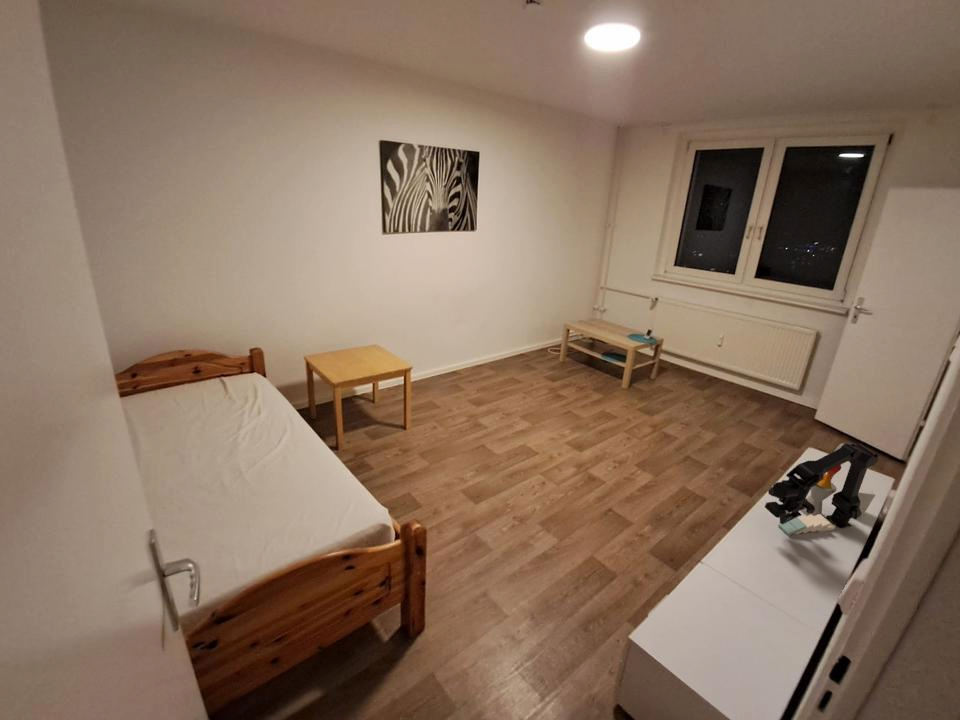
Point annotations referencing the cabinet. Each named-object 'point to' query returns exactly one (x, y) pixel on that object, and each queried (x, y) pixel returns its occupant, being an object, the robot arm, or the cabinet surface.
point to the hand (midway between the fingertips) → (781, 523)
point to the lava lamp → (822, 490)
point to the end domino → (828, 527)
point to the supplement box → (865, 498)
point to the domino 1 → (792, 526)
